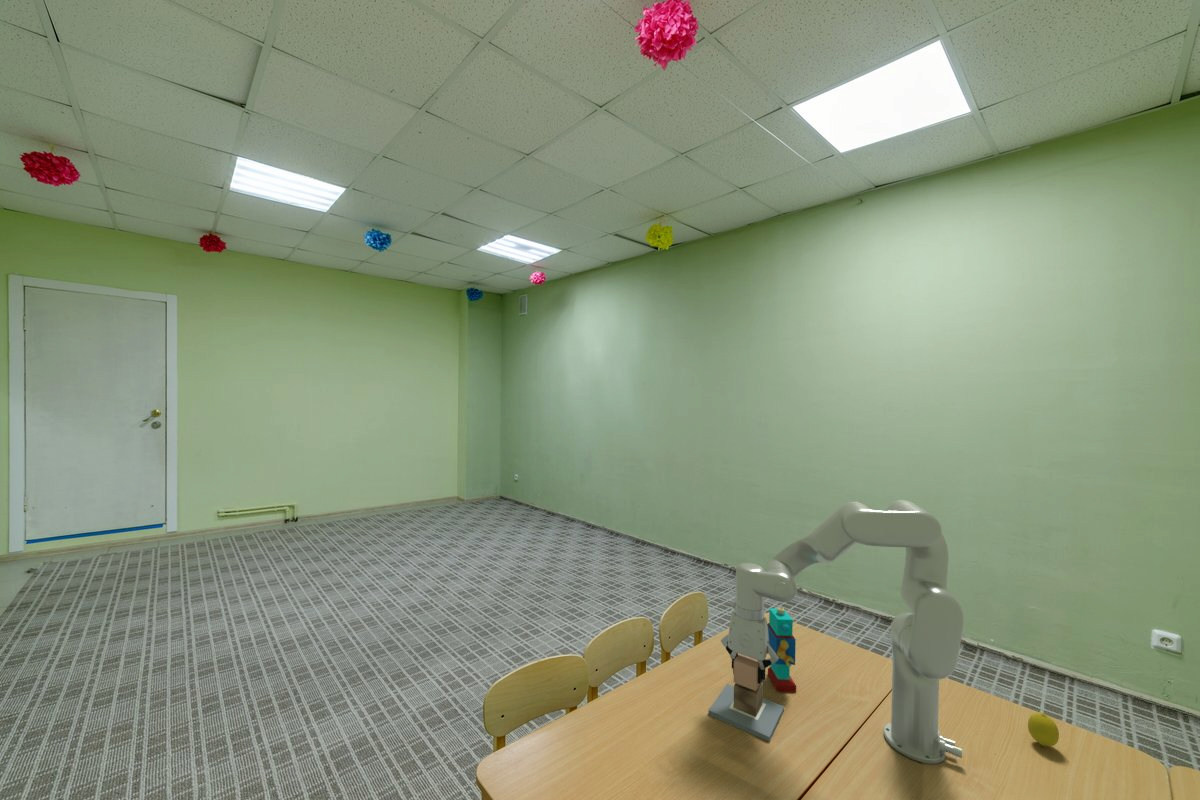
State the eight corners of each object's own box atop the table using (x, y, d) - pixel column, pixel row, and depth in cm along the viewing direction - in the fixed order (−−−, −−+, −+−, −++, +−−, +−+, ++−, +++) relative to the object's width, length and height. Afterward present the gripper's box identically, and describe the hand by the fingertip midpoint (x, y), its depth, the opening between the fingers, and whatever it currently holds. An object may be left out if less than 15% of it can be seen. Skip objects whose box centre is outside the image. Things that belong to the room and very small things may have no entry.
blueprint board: (784, 710, 124) (784, 706, 124) (769, 742, 112) (769, 737, 112) (727, 687, 133) (727, 683, 133) (708, 714, 122) (708, 709, 122)
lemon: (1048, 756, 109) (1049, 723, 109) (1021, 739, 114) (1022, 708, 114) (1064, 752, 111) (1065, 719, 111) (1037, 735, 116) (1037, 704, 116)
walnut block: (762, 704, 124) (762, 682, 124) (755, 716, 119) (756, 694, 119) (740, 695, 128) (741, 674, 128) (733, 707, 123) (733, 685, 123)
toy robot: (798, 695, 130) (800, 609, 130) (777, 695, 130) (778, 608, 130) (783, 671, 142) (784, 591, 141) (763, 670, 142) (765, 591, 141)
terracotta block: (762, 679, 124) (762, 657, 124) (755, 690, 119) (756, 668, 119) (740, 671, 128) (741, 650, 128) (733, 682, 123) (733, 660, 123)
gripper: (713, 606, 125) (712, 671, 126) (778, 626, 115) (777, 696, 115) (723, 597, 131) (722, 658, 132) (786, 615, 121) (784, 681, 121)
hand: (748, 675), depth 124 cm, fingers closed on terracotta block, 6 cm apart
